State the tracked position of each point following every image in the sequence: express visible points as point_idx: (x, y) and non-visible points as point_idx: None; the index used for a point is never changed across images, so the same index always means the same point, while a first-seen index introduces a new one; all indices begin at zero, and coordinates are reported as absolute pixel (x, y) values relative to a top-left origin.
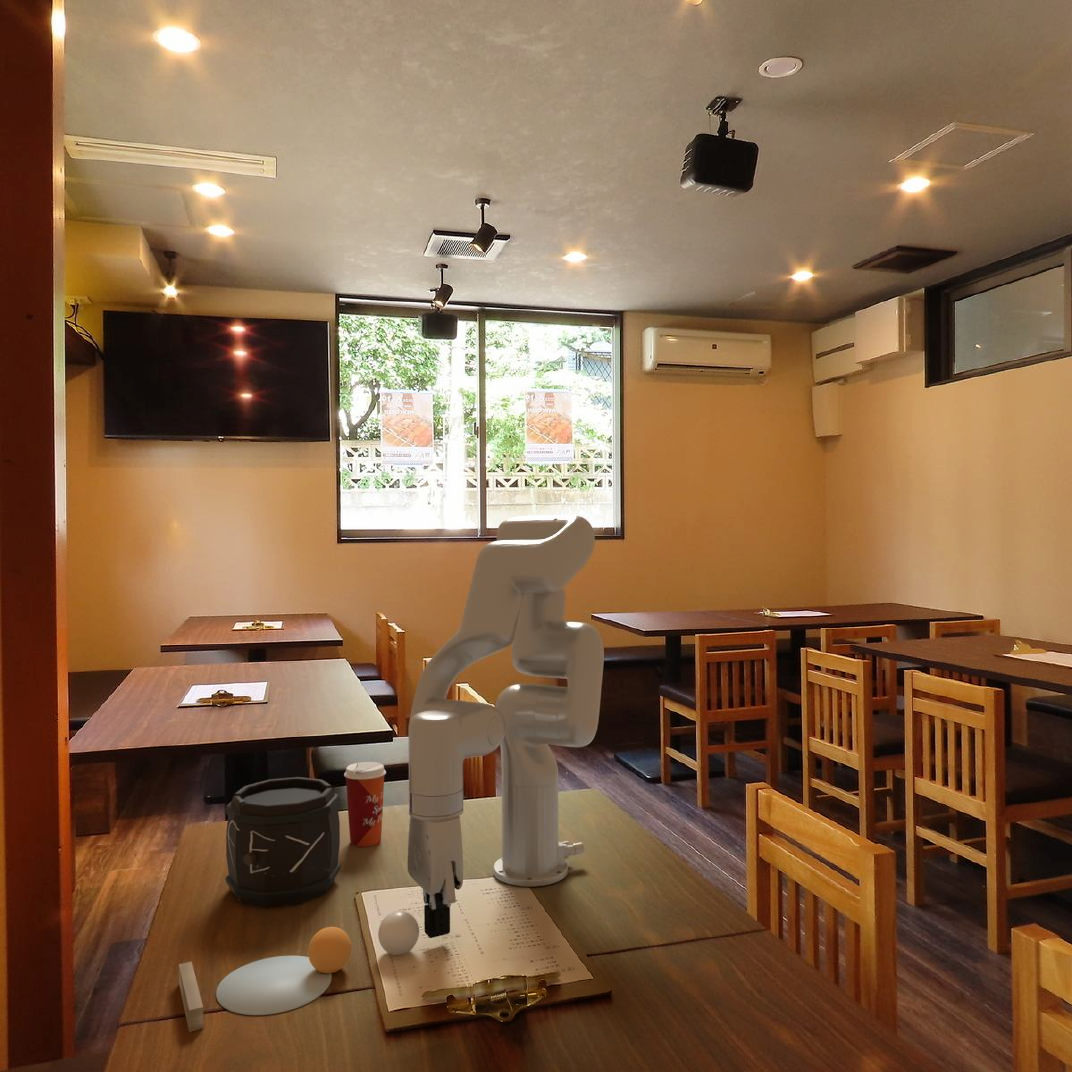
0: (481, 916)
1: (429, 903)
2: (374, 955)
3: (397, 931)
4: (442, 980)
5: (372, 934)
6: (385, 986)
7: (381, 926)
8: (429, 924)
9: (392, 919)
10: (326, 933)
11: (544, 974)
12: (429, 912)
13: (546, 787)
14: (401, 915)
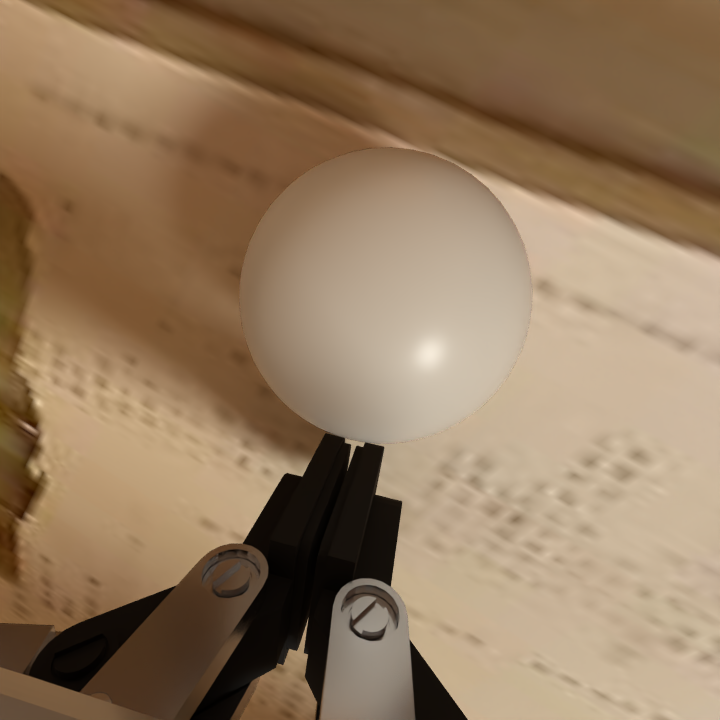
0: (454, 681)
1: (262, 587)
2: (462, 154)
3: (252, 241)
4: (84, 307)
5: (714, 268)
6: (131, 54)
7: (399, 163)
8: (305, 475)
9: (312, 246)
10: None
11: (13, 554)
12: (278, 529)
13: None
14: (305, 341)
